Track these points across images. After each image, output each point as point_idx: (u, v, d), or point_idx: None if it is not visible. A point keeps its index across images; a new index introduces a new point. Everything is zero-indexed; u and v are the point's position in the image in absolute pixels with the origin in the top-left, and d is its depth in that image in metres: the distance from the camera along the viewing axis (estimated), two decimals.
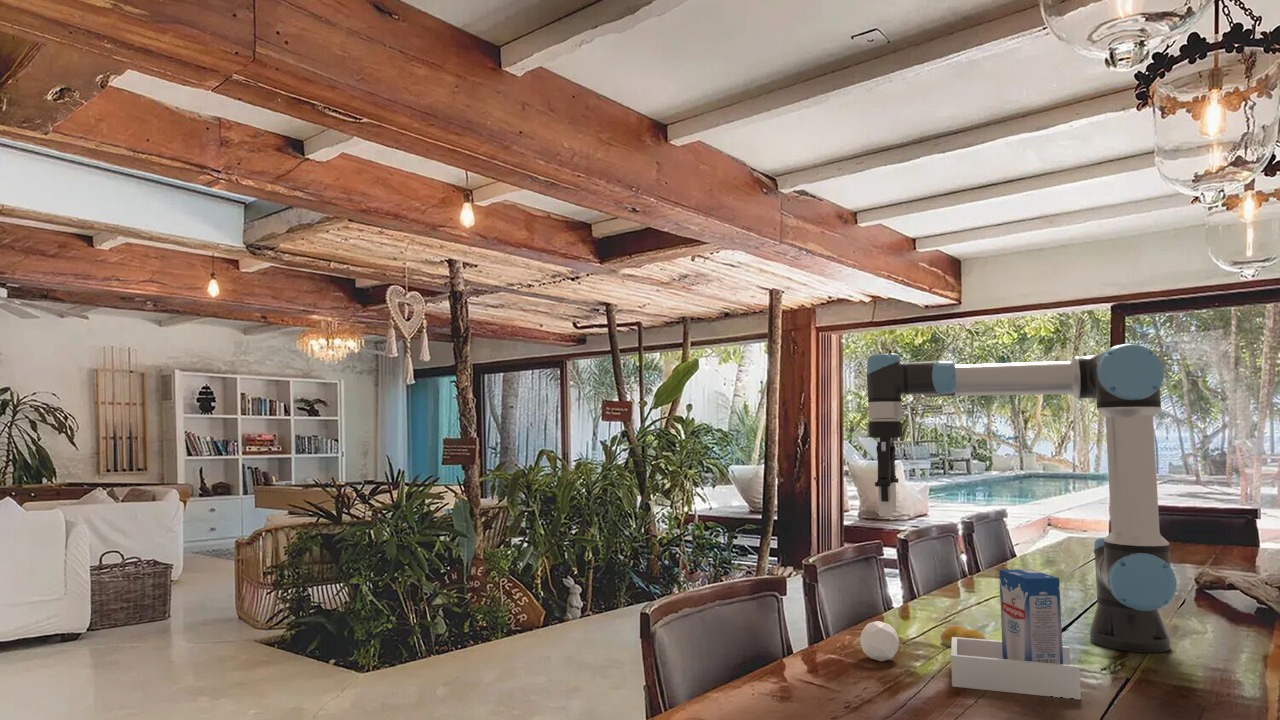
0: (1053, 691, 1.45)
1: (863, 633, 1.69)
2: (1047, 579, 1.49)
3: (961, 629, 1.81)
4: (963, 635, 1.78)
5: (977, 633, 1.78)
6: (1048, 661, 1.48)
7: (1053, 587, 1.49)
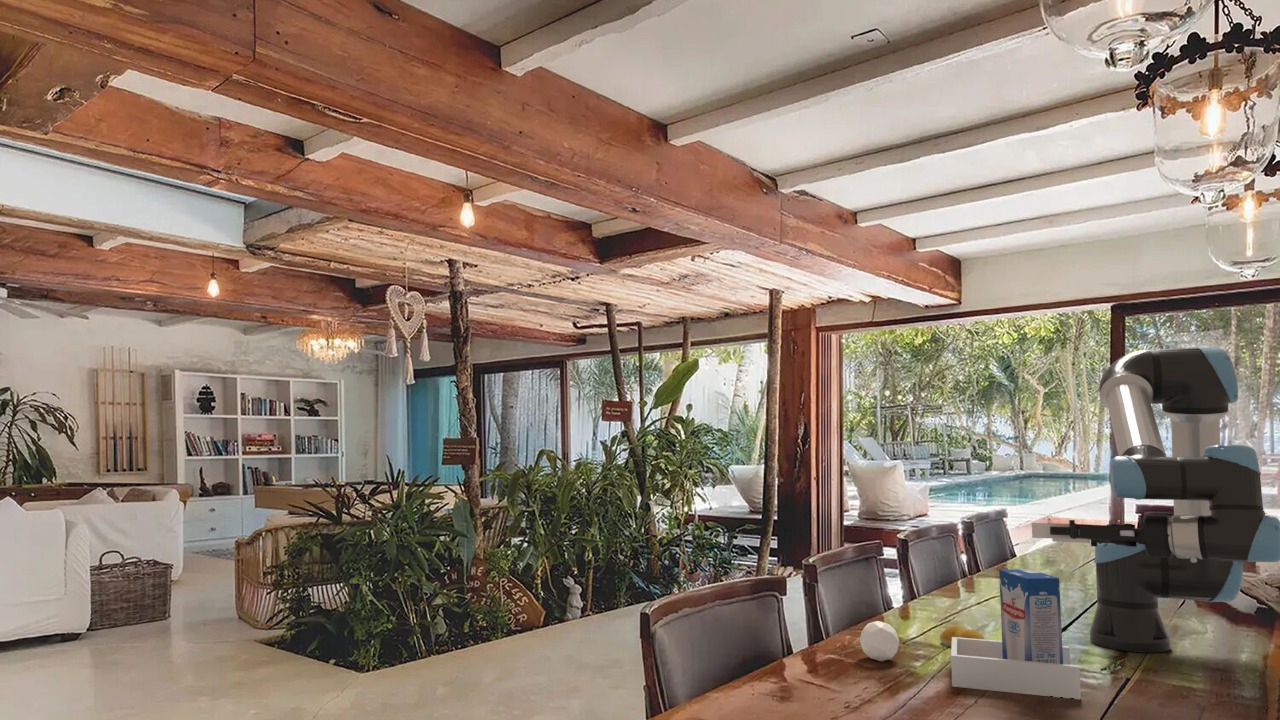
0: (1053, 691, 1.45)
1: (863, 633, 1.69)
2: (1047, 579, 1.49)
3: (960, 629, 1.81)
4: (963, 634, 1.78)
5: (976, 633, 1.78)
6: (1048, 661, 1.48)
7: (1053, 587, 1.49)
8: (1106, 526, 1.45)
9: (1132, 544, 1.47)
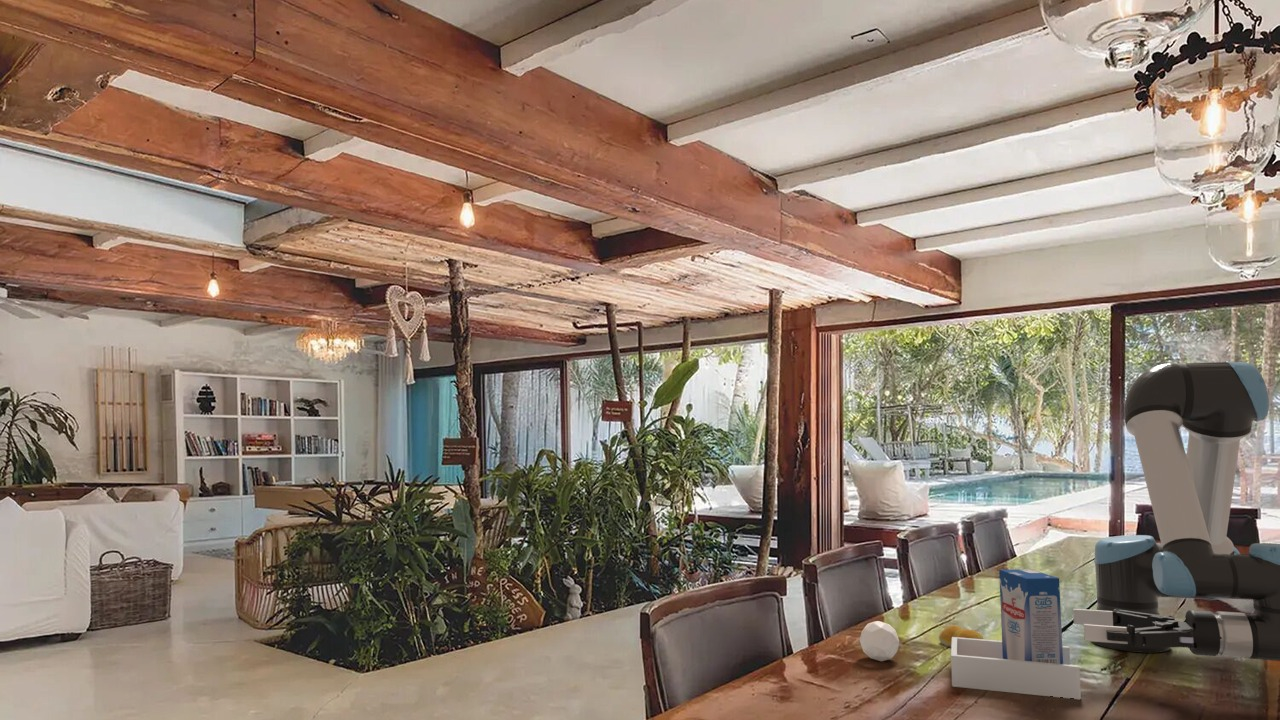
0: (1053, 691, 1.45)
1: (863, 633, 1.69)
2: (1047, 579, 1.49)
3: (959, 629, 1.81)
4: (961, 634, 1.78)
5: (975, 633, 1.78)
6: (1048, 661, 1.48)
7: (1053, 587, 1.49)
8: (1168, 633, 1.39)
9: None
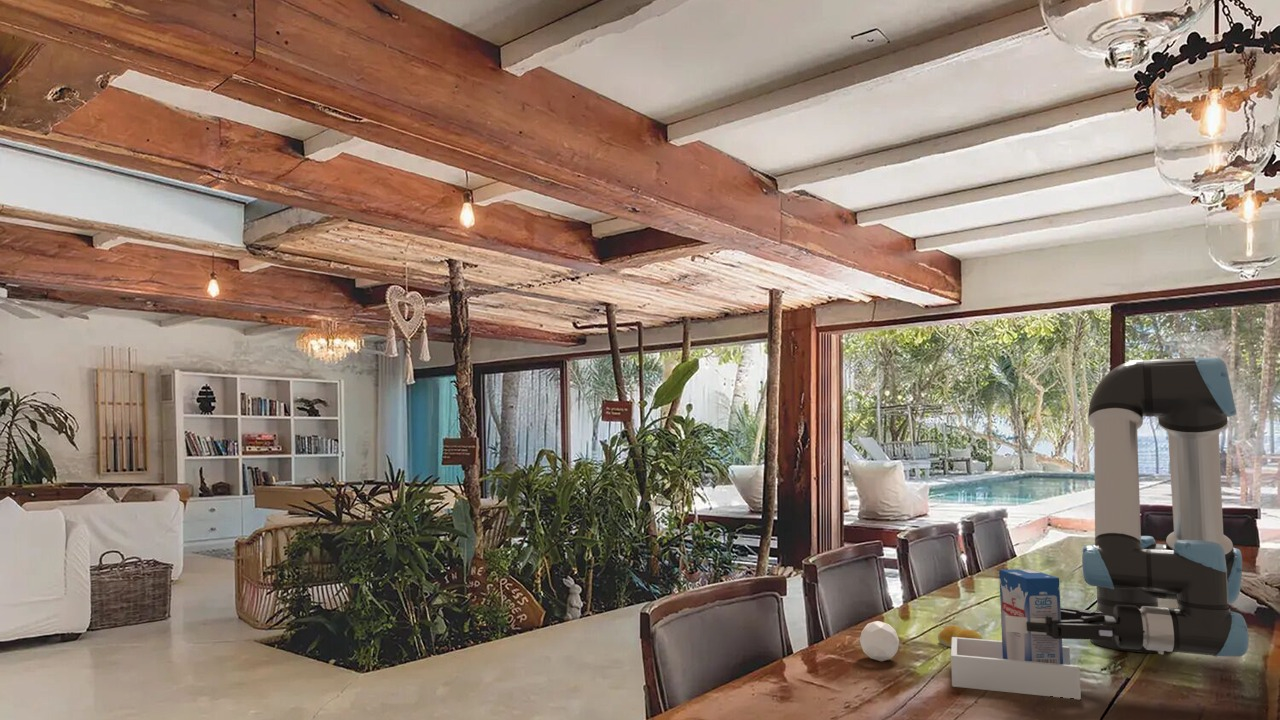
0: (1053, 691, 1.45)
1: (863, 633, 1.69)
2: (1047, 579, 1.49)
3: (958, 629, 1.81)
4: (961, 634, 1.78)
5: (974, 633, 1.78)
6: (1048, 661, 1.48)
7: (1053, 587, 1.49)
8: (1086, 626, 1.44)
9: None
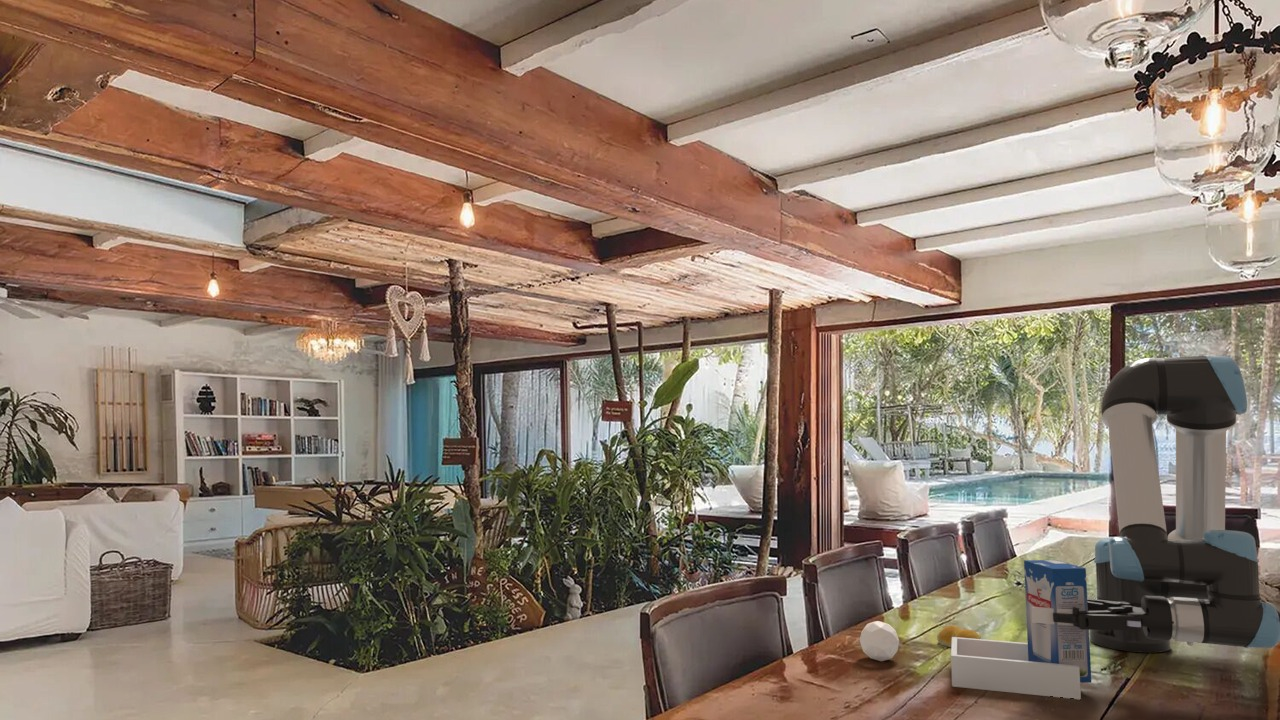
0: (1053, 691, 1.45)
1: (863, 633, 1.69)
2: (1073, 569, 1.48)
3: (957, 629, 1.81)
4: (960, 634, 1.78)
5: (973, 633, 1.78)
6: (1075, 652, 1.47)
7: (1080, 577, 1.48)
8: (1114, 617, 1.42)
9: None
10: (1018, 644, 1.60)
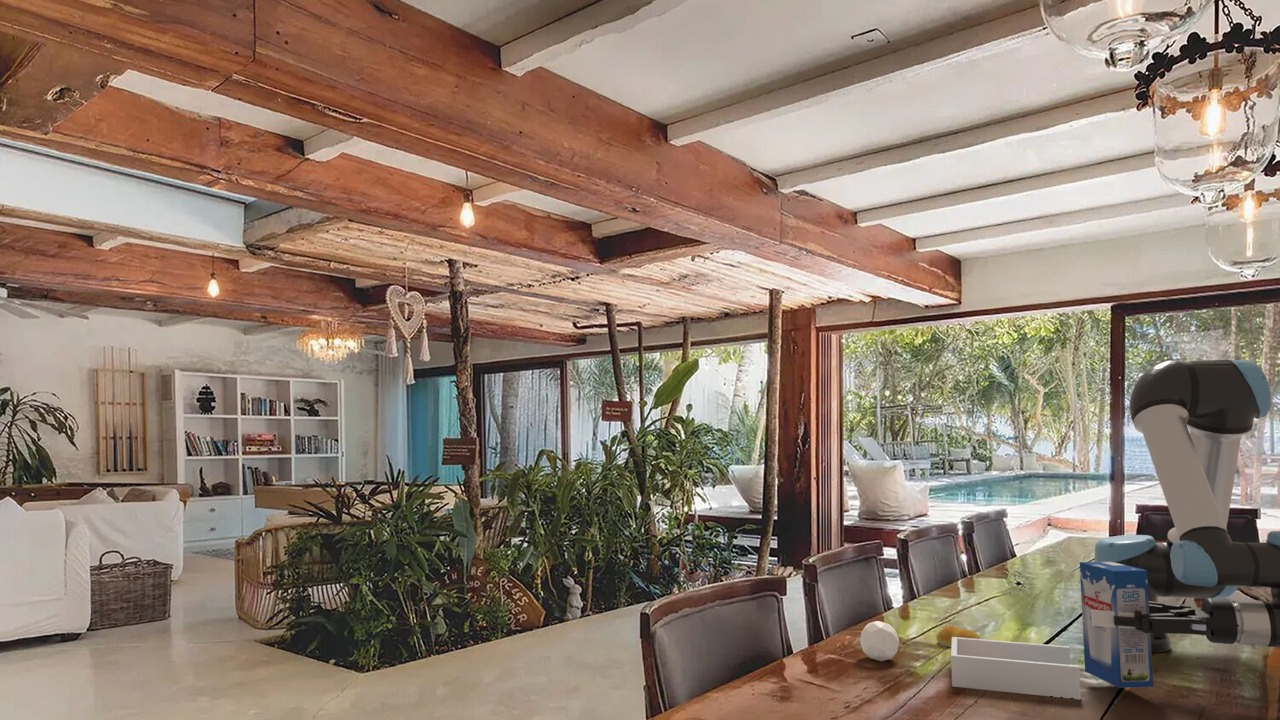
0: (1053, 691, 1.45)
1: (863, 633, 1.69)
2: (1134, 571, 1.45)
3: (957, 629, 1.81)
4: (959, 635, 1.78)
5: (973, 633, 1.78)
6: (1136, 656, 1.43)
7: (1141, 580, 1.45)
8: (1178, 620, 1.39)
9: None
10: (1018, 644, 1.60)
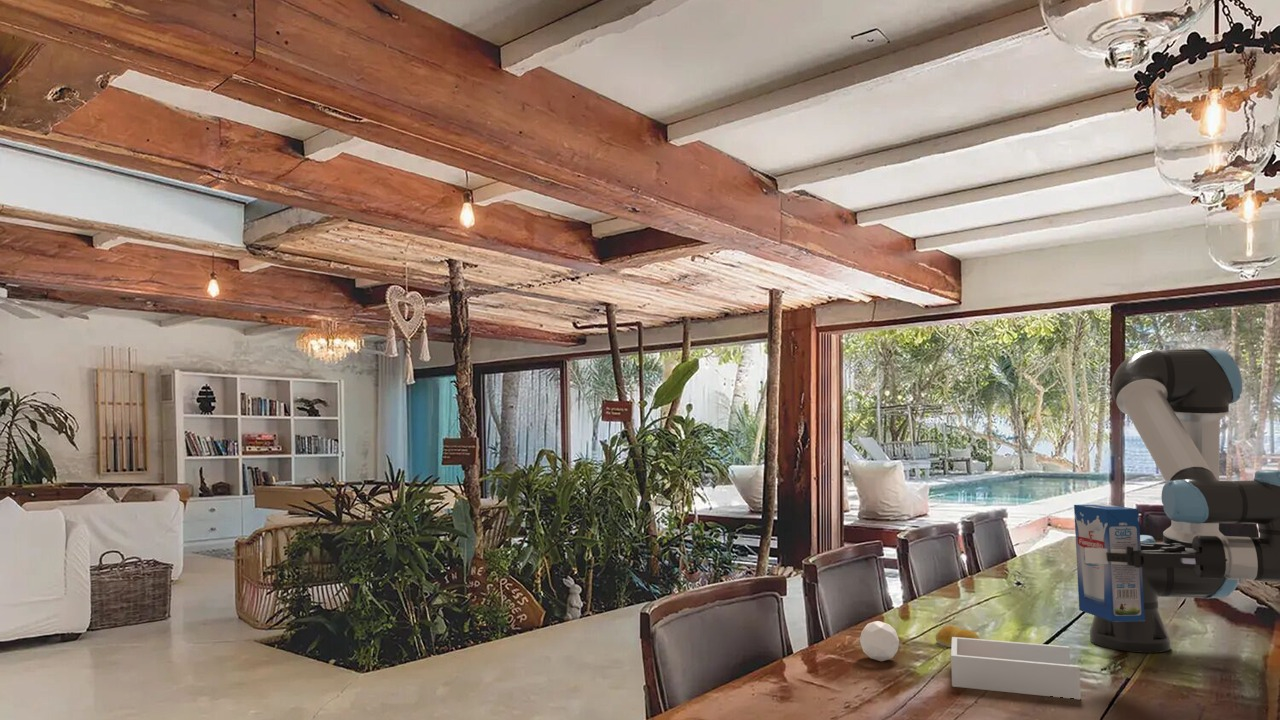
0: (1053, 691, 1.45)
1: (863, 633, 1.69)
2: (1127, 510, 1.50)
3: (956, 629, 1.81)
4: (958, 635, 1.78)
5: (972, 633, 1.78)
6: (1128, 591, 1.48)
7: (1133, 518, 1.50)
8: (1168, 554, 1.44)
9: None
10: (1018, 644, 1.60)
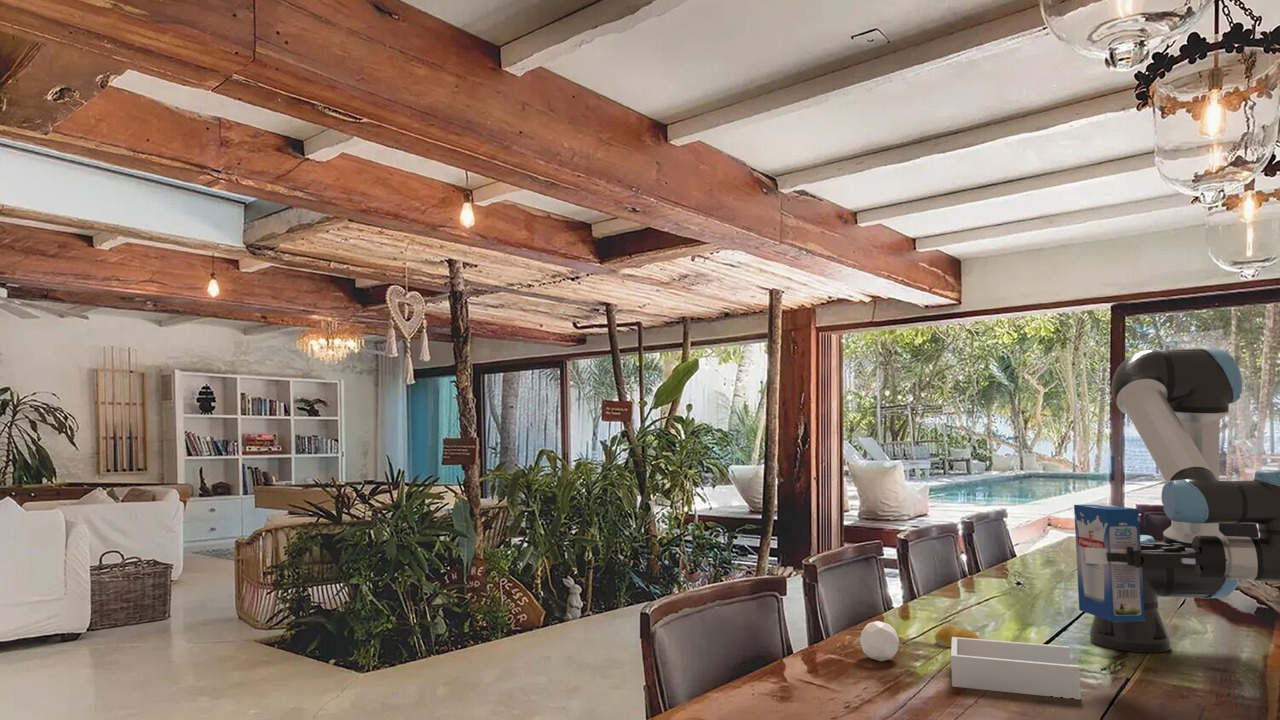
0: (1053, 691, 1.45)
1: (863, 633, 1.69)
2: (1127, 510, 1.50)
3: (955, 629, 1.81)
4: (957, 635, 1.78)
5: (971, 633, 1.78)
6: (1128, 591, 1.48)
7: (1133, 518, 1.50)
8: (1168, 554, 1.44)
9: None
10: (1018, 644, 1.60)
